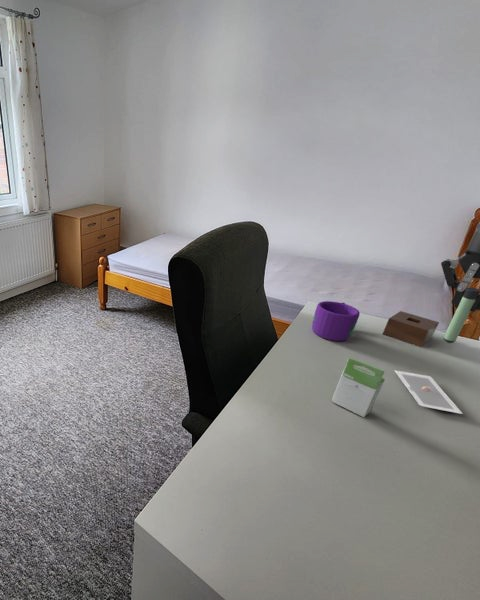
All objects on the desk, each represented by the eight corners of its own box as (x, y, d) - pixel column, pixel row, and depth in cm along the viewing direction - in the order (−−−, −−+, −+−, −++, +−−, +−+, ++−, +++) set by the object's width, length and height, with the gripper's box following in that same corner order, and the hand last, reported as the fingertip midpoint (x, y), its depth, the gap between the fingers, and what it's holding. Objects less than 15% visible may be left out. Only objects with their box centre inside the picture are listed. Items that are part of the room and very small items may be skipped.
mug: (346, 347, 106) (356, 319, 102) (305, 334, 114) (313, 308, 110) (357, 328, 117) (366, 302, 113) (319, 317, 125) (326, 292, 121)
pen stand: (394, 326, 118) (400, 310, 116) (431, 338, 111) (439, 322, 108) (382, 334, 114) (388, 318, 111) (420, 347, 106) (428, 330, 103)
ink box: (370, 411, 81) (391, 365, 76) (364, 418, 79) (384, 371, 74) (337, 395, 86) (354, 351, 81) (330, 401, 84) (347, 357, 79)
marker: (443, 338, 81) (468, 286, 74) (455, 342, 79) (481, 289, 72) (440, 342, 80) (465, 289, 73) (452, 345, 78) (478, 292, 72)
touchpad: (428, 379, 92) (432, 373, 91) (460, 417, 79) (465, 410, 78) (392, 373, 94) (395, 367, 93) (418, 409, 82) (421, 402, 81)
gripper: (562, 235, 65) (515, 315, 72) (461, 223, 75) (429, 294, 83) (555, 241, 61) (507, 325, 68) (450, 228, 72) (418, 301, 79)
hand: (464, 308), depth 76 cm, fingers closed on marker, 2 cm apart
